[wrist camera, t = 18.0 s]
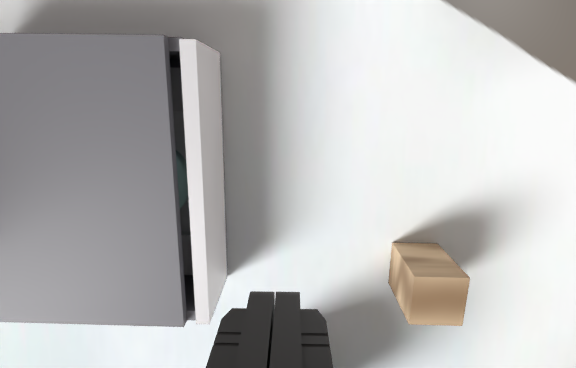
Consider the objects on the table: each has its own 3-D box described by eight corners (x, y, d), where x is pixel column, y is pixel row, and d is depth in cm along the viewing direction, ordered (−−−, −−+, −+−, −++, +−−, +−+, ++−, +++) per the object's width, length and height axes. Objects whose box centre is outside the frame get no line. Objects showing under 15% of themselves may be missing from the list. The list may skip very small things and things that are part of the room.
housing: (215, 278, 32) (194, 327, 26) (46, 274, 33) (-20, 321, 26) (206, 49, 27) (176, 35, 21) (6, 47, 28) (-89, 31, 21)
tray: (227, 277, 32) (209, 324, 26) (62, 273, 32) (2, 318, 26) (220, 52, 27) (195, 39, 21) (25, 50, 28) (-60, 35, 21)
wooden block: (432, 283, 32) (462, 325, 26) (388, 282, 32) (408, 324, 26) (437, 243, 31) (470, 277, 25) (392, 242, 31) (414, 276, 25)
